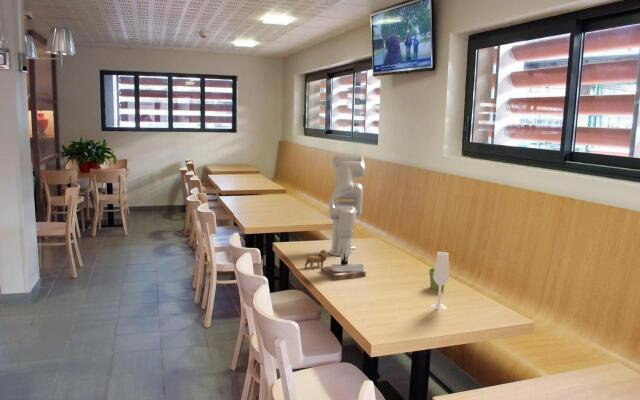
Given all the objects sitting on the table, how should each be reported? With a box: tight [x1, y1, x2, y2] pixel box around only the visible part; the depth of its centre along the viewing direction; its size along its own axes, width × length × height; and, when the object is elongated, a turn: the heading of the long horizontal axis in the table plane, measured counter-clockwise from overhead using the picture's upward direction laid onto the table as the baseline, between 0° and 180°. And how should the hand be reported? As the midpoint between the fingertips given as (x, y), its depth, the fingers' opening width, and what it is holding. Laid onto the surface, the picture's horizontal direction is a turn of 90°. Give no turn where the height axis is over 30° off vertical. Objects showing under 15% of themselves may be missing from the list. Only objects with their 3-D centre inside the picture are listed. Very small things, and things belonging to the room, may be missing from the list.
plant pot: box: [428, 267, 445, 291], centre depth 244 cm, size 9×9×9 cm
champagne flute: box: [430, 251, 450, 311], centre depth 218 cm, size 7×7×24 cm
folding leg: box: [331, 263, 365, 272], centre depth 258 cm, size 16×2×3 cm, turn 99°
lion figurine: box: [304, 249, 328, 270], centre depth 270 cm, size 15×5×9 cm, turn 131°
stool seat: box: [320, 265, 367, 281], centre depth 261 cm, size 18×15×2 cm
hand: (344, 268), depth 261 cm, fingers closed
